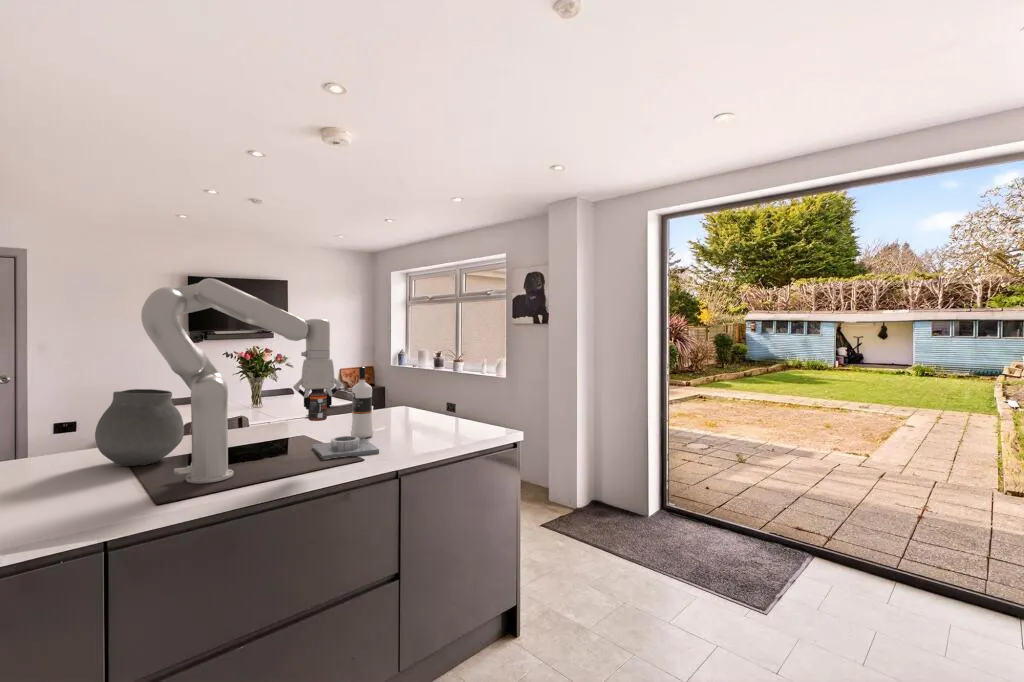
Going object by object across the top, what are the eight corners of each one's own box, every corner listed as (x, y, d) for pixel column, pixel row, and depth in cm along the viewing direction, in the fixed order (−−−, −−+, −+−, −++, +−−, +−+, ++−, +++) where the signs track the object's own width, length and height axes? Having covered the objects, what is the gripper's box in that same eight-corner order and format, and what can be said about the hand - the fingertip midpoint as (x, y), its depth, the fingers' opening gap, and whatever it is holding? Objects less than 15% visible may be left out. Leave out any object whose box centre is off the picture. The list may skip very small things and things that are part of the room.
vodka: (375, 437, 214) (376, 367, 213) (354, 439, 209) (354, 368, 208) (369, 433, 222) (369, 365, 221) (348, 435, 217) (348, 366, 216)
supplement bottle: (325, 421, 168) (325, 387, 167) (306, 421, 166) (306, 387, 166) (328, 418, 174) (328, 385, 173) (310, 418, 172) (310, 385, 172)
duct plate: (322, 460, 176) (322, 447, 176) (312, 448, 194) (312, 436, 193) (379, 453, 187) (379, 441, 187) (364, 442, 204) (364, 431, 204)
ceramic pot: (182, 466, 166) (181, 392, 166) (87, 477, 154) (86, 396, 153) (185, 451, 187) (185, 384, 187) (103, 459, 175) (102, 387, 174)
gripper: (291, 356, 162) (291, 411, 162) (346, 355, 171) (346, 408, 171) (288, 355, 168) (288, 408, 169) (341, 354, 177) (341, 405, 178)
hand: (317, 407), depth 170 cm, fingers closed on supplement bottle, 6 cm apart
